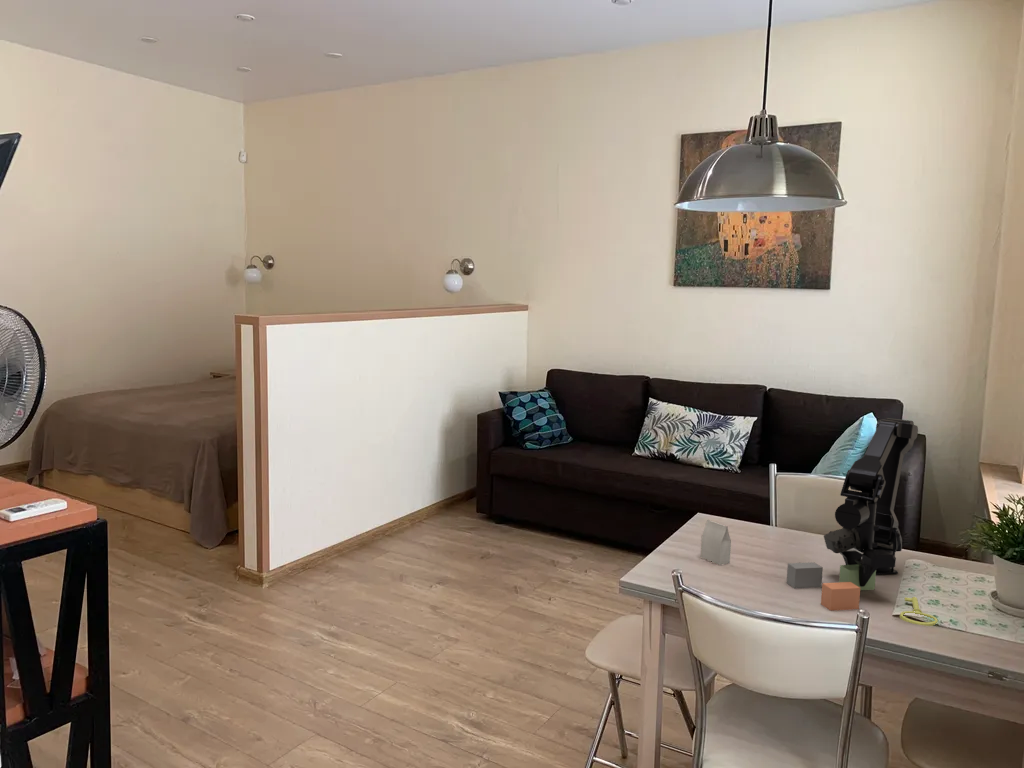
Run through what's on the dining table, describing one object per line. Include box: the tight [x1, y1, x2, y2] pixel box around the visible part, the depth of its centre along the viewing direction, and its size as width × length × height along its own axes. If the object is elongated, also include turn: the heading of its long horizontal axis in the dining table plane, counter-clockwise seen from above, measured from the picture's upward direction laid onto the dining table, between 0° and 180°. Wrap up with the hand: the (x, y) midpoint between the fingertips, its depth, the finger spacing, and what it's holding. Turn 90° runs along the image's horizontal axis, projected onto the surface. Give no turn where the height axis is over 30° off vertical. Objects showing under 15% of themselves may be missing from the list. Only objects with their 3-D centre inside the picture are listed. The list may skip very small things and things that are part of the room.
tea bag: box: [699, 519, 732, 566], centre depth 200 cm, size 4×7×10 cm, turn 32°
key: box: [899, 596, 939, 627], centre depth 169 cm, size 7×12×2 cm, turn 176°
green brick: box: [838, 564, 877, 591], centre depth 183 cm, size 7×4×5 cm, turn 100°
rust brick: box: [820, 581, 861, 612], centre depth 172 cm, size 7×4×5 cm, turn 100°
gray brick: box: [786, 561, 824, 589], centre depth 184 cm, size 7×4×5 cm, turn 100°
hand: (856, 583), depth 183 cm, fingers closed on green brick, 4 cm apart
